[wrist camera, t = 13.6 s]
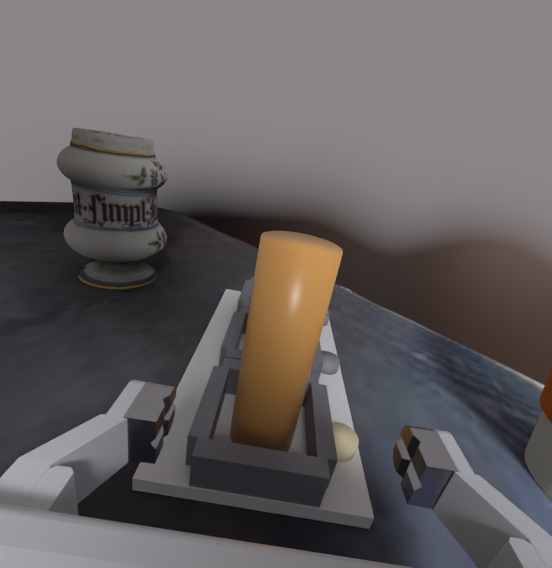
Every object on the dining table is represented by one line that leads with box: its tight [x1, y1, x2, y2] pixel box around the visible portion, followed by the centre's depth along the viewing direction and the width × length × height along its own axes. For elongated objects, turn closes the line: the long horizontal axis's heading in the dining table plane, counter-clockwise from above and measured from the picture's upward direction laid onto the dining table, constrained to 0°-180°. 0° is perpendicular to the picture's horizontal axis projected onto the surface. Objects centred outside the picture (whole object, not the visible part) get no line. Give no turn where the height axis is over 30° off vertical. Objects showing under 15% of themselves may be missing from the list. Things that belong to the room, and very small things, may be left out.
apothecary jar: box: [57, 128, 167, 289], centre depth 40 cm, size 12×12×18 cm
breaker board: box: [132, 277, 374, 529], centre depth 30 cm, size 27×14×4 cm, turn 177°
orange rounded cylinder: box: [230, 231, 343, 452], centre depth 19 cm, size 4×4×14 cm
